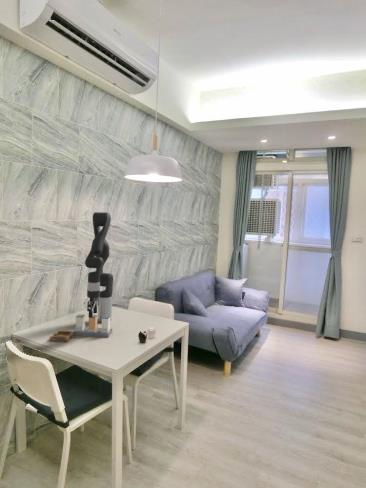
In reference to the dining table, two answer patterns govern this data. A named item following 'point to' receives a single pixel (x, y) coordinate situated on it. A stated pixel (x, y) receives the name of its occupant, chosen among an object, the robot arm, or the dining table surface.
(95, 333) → the fuse block
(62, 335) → the tray
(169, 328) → the dining table surface
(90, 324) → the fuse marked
